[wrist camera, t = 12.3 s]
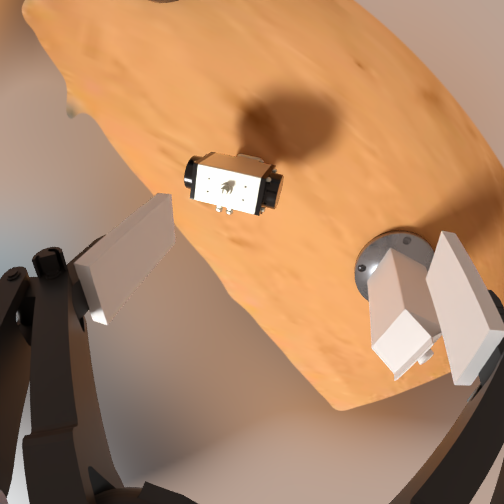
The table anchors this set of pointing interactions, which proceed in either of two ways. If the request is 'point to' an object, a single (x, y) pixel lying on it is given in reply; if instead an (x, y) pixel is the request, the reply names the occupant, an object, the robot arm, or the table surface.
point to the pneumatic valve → (234, 182)
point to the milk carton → (401, 313)
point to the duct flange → (378, 248)
